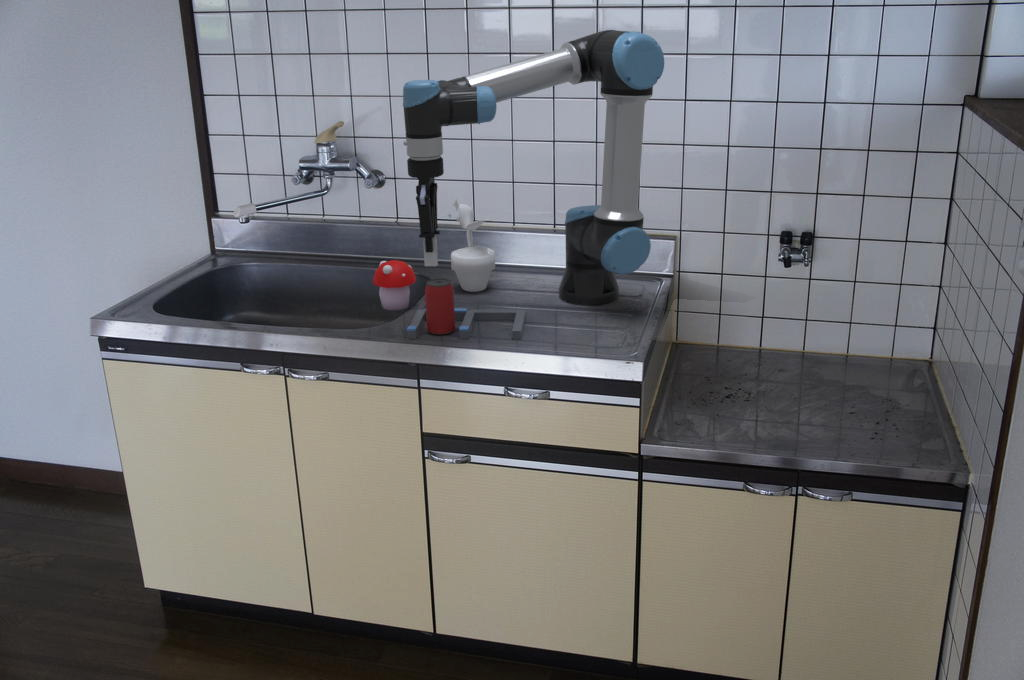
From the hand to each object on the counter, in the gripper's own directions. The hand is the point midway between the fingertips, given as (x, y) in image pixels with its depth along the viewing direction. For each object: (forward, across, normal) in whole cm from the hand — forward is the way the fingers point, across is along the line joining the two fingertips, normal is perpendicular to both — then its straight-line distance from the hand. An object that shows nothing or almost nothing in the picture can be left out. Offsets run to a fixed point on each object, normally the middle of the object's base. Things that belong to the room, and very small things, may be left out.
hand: (431, 265), depth 211 cm
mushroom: (+19, -26, -14) cm, 35 cm away
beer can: (+19, -8, 0) cm, 20 cm away
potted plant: (+19, -40, +4) cm, 44 cm away
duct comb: (+18, -10, +6) cm, 22 cm away
